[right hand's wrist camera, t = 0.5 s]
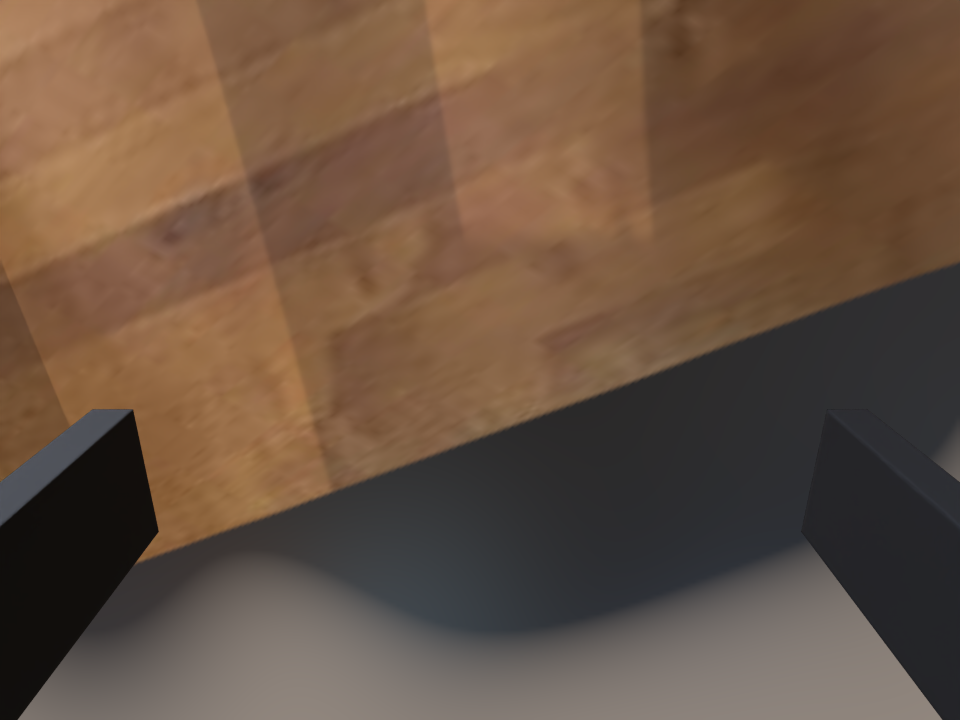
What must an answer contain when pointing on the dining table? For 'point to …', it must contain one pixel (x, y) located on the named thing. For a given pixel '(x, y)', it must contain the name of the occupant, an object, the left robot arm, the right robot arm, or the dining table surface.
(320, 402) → the dining table surface
